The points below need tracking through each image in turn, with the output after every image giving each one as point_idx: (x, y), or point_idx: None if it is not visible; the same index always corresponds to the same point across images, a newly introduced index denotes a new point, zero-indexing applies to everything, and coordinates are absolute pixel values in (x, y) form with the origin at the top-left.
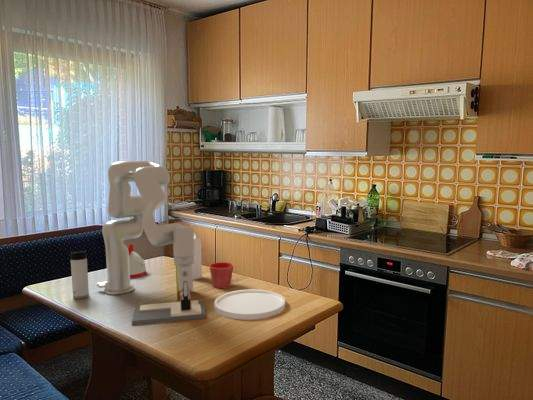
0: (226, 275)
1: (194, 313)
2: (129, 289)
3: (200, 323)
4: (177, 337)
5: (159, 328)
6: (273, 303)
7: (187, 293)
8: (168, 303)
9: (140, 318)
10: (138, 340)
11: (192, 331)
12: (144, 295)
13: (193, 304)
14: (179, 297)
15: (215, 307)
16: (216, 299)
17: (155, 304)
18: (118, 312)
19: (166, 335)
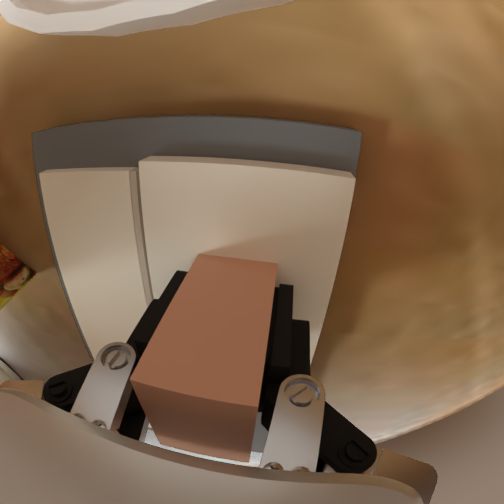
0: None
1: (340, 241)
2: (8, 374)
3: (434, 197)
4: (498, 333)
5: (368, 391)
6: None
7: (200, 420)
8: (97, 348)
9: (263, 441)
10: (420, 425)
11: (499, 268)
12: (16, 350)
13: (111, 215)
14: (8, 268)
15: (191, 14)
16: (49, 25)
17: None
18: (152, 436)
19: (453, 368)
